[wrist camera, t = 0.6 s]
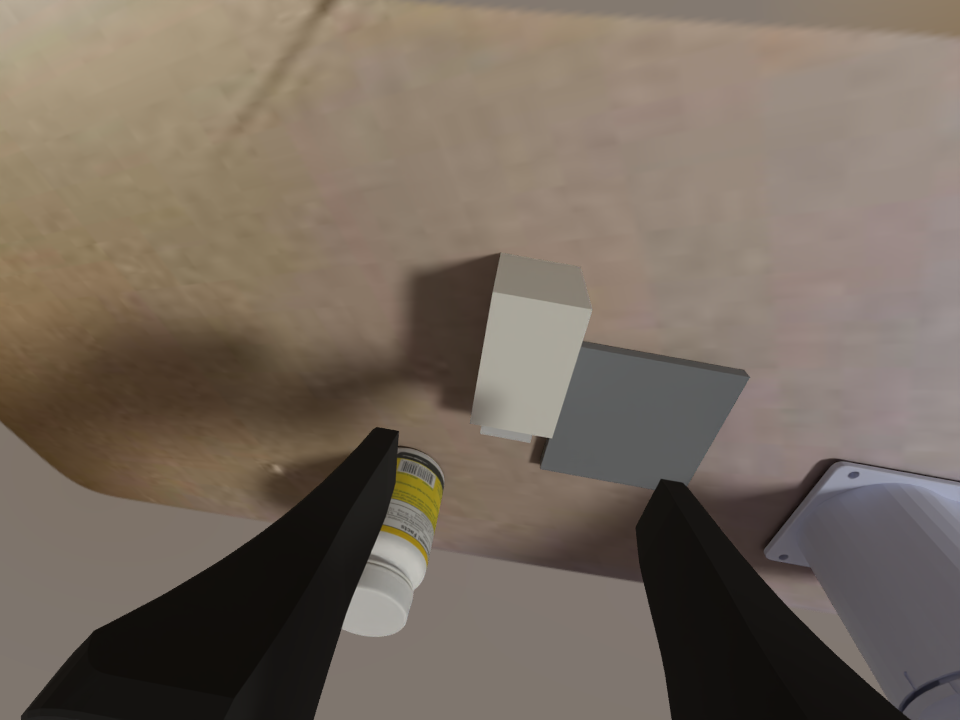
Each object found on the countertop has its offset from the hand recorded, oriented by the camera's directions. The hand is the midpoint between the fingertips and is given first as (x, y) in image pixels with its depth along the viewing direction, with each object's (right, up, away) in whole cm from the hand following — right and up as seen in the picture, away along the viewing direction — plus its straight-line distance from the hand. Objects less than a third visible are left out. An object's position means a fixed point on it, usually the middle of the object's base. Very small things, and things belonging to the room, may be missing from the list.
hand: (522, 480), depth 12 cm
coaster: (+7, 0, +11) cm, 13 cm away
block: (+1, +5, +8) cm, 10 cm away
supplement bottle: (-6, -4, +15) cm, 16 cm away
